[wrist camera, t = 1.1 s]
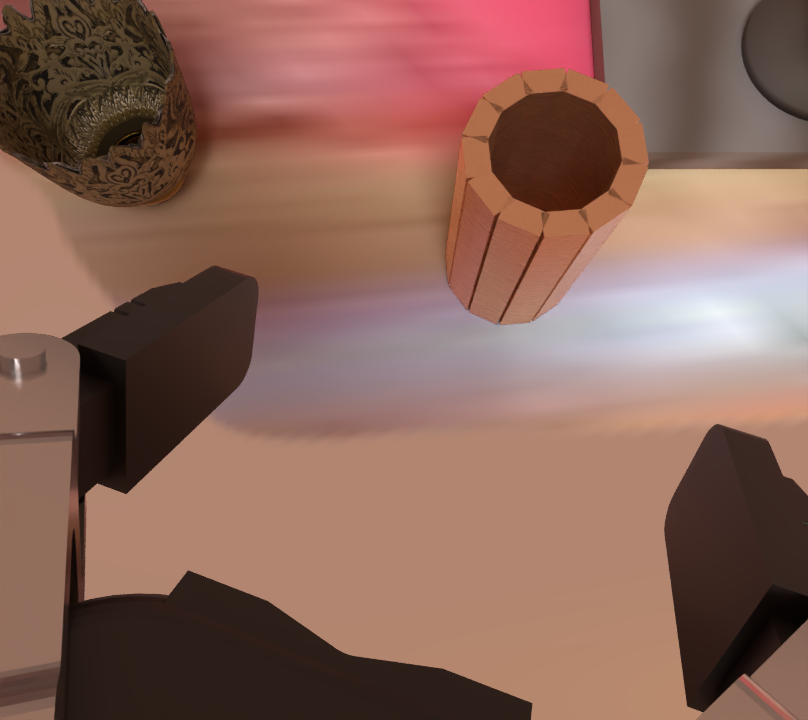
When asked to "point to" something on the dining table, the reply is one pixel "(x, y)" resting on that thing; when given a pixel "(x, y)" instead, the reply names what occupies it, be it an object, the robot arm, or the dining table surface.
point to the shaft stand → (709, 78)
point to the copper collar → (539, 190)
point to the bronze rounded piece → (95, 100)
